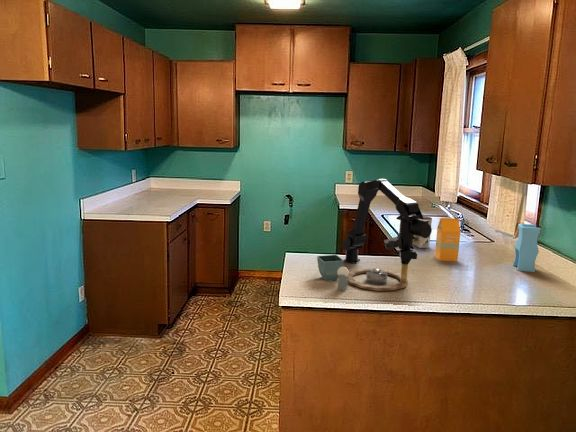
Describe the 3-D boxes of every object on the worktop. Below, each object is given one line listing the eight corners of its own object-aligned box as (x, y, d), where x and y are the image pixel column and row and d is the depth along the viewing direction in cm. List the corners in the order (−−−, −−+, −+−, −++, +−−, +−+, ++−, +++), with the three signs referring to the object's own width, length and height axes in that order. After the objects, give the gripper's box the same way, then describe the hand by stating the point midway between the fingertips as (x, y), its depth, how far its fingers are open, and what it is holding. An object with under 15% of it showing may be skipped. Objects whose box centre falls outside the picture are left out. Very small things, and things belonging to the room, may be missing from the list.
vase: (535, 271, 210) (541, 228, 206) (516, 270, 211) (522, 227, 207) (530, 266, 217) (536, 224, 213) (512, 265, 219) (517, 223, 215)
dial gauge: (338, 287, 185) (339, 264, 183) (349, 289, 183) (350, 266, 182) (336, 289, 183) (336, 266, 181) (346, 291, 181) (347, 268, 179)
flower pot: (323, 283, 190) (323, 261, 188) (316, 276, 198) (316, 255, 196) (343, 281, 192) (344, 260, 190) (335, 274, 200) (336, 254, 199)
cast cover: (369, 277, 199) (370, 265, 198) (389, 280, 195) (389, 268, 194) (363, 282, 191) (364, 270, 190) (383, 286, 188) (384, 273, 187)
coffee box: (409, 243, 255) (412, 214, 251) (420, 243, 256) (422, 214, 253) (419, 248, 246) (421, 217, 243) (429, 247, 248) (432, 217, 245)
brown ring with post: (394, 270, 207) (395, 252, 205) (416, 289, 183) (418, 269, 181) (340, 271, 204) (340, 253, 202) (355, 291, 180) (356, 271, 178)
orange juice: (457, 261, 224) (461, 220, 220) (439, 260, 224) (442, 219, 220) (452, 256, 231) (456, 216, 227) (434, 256, 232) (437, 216, 228)
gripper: (383, 226, 197) (380, 261, 201) (389, 237, 179) (386, 276, 183) (410, 227, 197) (407, 262, 200) (419, 238, 178) (415, 277, 182)
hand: (403, 269), depth 191 cm, fingers closed
